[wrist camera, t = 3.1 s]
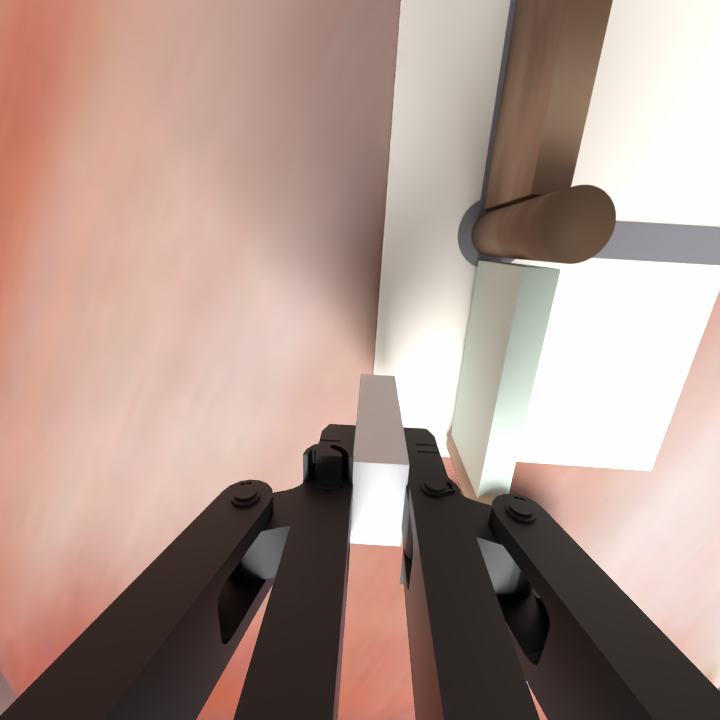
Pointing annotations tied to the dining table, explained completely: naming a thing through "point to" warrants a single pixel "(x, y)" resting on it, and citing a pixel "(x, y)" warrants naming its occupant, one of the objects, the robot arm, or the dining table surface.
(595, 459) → the card
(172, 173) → the dining table surface
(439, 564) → the robot arm
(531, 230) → the fixed fence section
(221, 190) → the dining table surface
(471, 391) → the folding fence panel
